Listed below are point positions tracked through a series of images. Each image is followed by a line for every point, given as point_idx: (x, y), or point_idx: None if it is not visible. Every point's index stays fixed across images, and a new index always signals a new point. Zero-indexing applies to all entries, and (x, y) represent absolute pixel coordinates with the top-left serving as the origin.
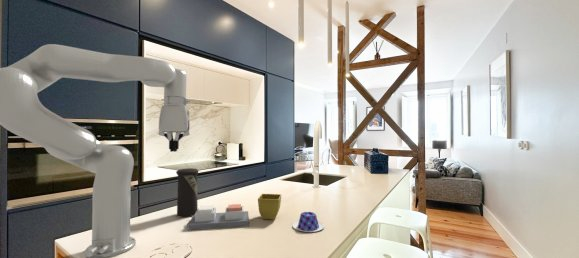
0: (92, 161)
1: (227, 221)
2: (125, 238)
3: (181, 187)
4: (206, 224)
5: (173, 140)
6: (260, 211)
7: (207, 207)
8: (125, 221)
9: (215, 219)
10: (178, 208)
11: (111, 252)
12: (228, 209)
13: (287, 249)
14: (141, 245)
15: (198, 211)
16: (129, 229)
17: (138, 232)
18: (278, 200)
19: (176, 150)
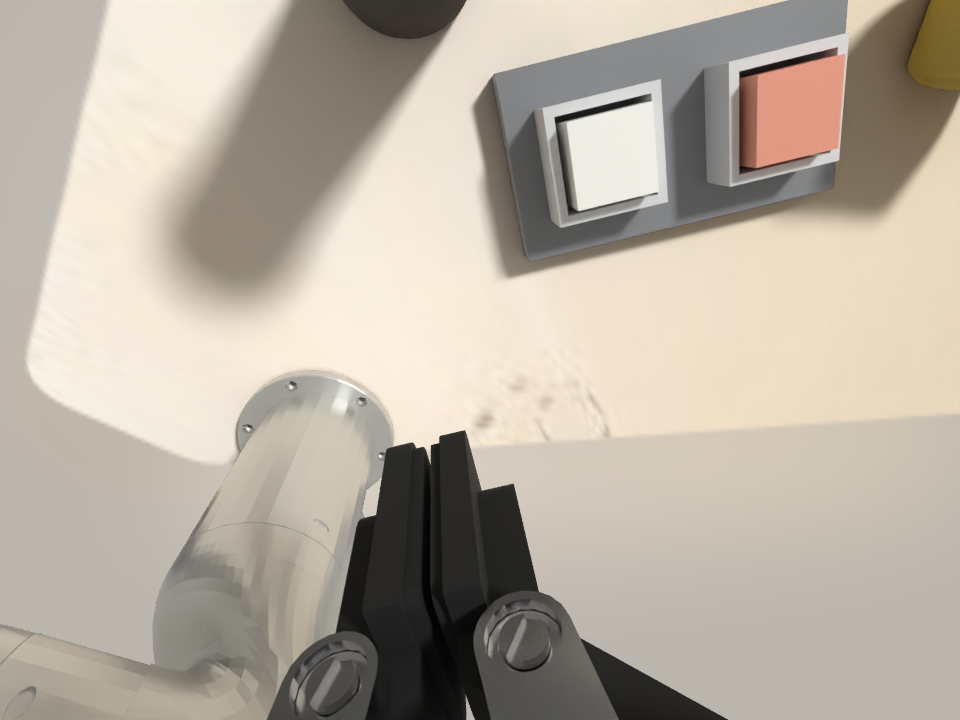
0: None
1: (721, 205)
2: (371, 461)
3: None
4: (616, 239)
5: (425, 672)
6: (934, 86)
7: (622, 154)
8: (362, 506)
9: None
10: (357, 11)
11: (367, 488)
12: (755, 167)
13: (916, 398)
14: (409, 405)
15: (576, 209)
16: (362, 452)
17: (301, 291)
18: None
19: (475, 468)
